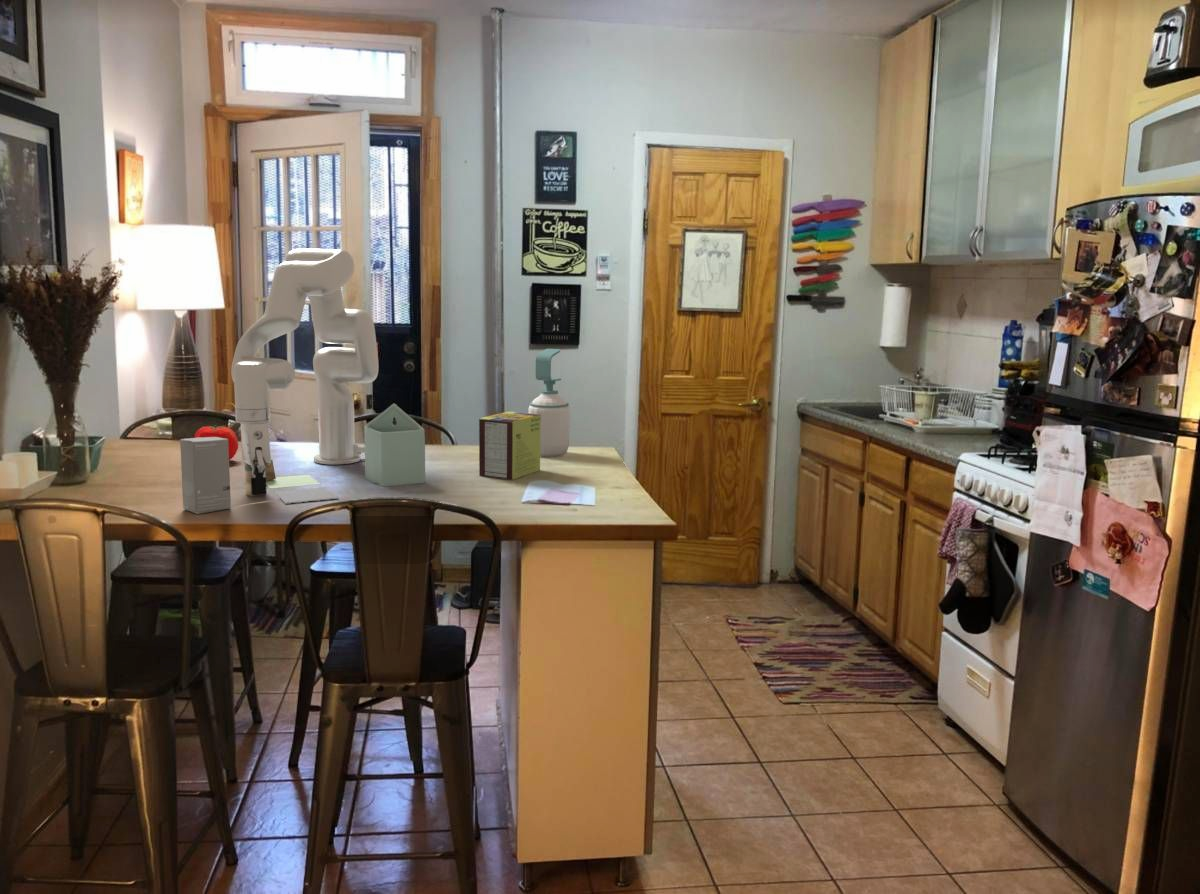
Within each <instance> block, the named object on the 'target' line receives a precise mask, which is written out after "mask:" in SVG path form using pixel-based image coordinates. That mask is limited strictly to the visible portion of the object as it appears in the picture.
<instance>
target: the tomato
mask: <svg viewBox="0 0 1200 894" xmlns="http://www.w3.org/2000/svg"><path fill="white" fill-rule="evenodd" d="M200 437H202V438H204V437H219V438H225V439H228V447H229V461H230V460H231V459H233V458H234V457H235V456H236V455H237V454H236V453H237V452H238V449H239V441H238V436H237V434H236V432H234V430H232V429H231V428H230V427H227V426H226V425H221V426H218V425H217V424H215V425H214V426H212V425H209V426H201V428H199V429H198V430H197V431H196V432H195V434H194V437H193V438H200Z"/></svg>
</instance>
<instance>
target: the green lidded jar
mask: <svg viewBox="0 0 1200 894" xmlns="http://www.w3.org/2000/svg"><path fill="white" fill-rule="evenodd" d="M264 466H265V469H266V465H264ZM256 468H257V467H256ZM256 468H255V469H256ZM244 472H245V473H244V474H245V477H246V478H245V494H246V496H248V497H249V496H250V497H253V496H254V497H255V496H264V495H265V494H260V495H252V491H251V478H252V469H251V466H250V465H246V466H245V465H244Z"/></svg>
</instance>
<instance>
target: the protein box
mask: <svg viewBox="0 0 1200 894" xmlns="http://www.w3.org/2000/svg"><path fill="white" fill-rule="evenodd" d="M478 425H479V426H478V429H479V430H478V434H479V435H478V439H479V440H478V444H479V445H478V447H479V449H478V451H479V452H478V459H479V460H478V461H479V463H478V464H479V465H478V468H479V471H478V472H479V476H480V477H487V478H496V479H502V480H508V481H509V480H510V481H513V480H515V479H519V478H521V477H524V476H526V475H530V474H534V473H536V472H539V471H540V470H541V457H540V441H541V415H540V414H530V413H528V412H520V411H519V412H517V411H505V412H501V413H497V414H496V413H495V414H492V415H487V416H484V417H481V418H479V419H478Z"/></svg>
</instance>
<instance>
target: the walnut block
mask: <svg viewBox="0 0 1200 894" xmlns="http://www.w3.org/2000/svg"><path fill="white" fill-rule="evenodd" d="M273 461H274V460H273V459H271V463H270V464H269V465H267V464H266V463H265V462H264V465H266V469H265V475H266V482H267V481H271V480H274V479H276V472H275V467H274V462H273ZM243 463H244V467H245V466H246V462H245V461H244V462H243Z"/></svg>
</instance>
